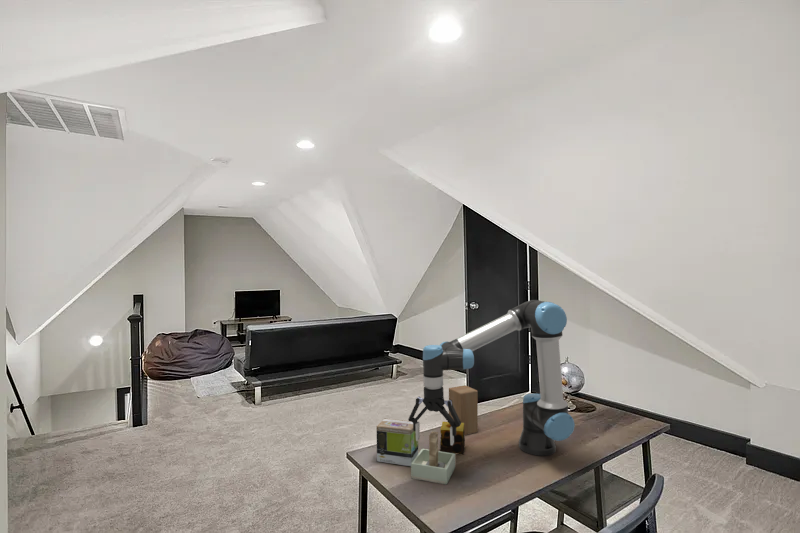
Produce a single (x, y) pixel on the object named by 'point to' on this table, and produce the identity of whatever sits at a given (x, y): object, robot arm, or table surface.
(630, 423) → the table surface
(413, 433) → the tea box
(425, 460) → the pale green square tray
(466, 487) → the table surface
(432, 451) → the long wooden plank
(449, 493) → the table surface
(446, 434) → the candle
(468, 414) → the wooden block
